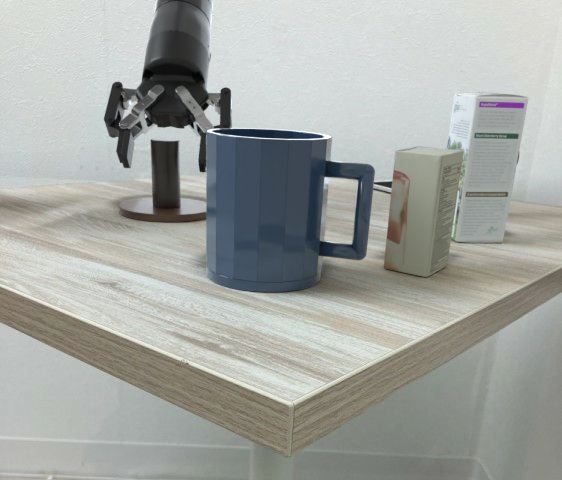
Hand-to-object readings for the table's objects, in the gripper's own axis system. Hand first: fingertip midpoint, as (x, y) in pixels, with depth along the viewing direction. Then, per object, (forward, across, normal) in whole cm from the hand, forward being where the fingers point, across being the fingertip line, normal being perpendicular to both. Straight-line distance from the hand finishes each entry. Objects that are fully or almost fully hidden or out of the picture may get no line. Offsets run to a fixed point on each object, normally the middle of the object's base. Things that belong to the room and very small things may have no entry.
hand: (164, 165), depth 72 cm
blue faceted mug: (+20, +14, -13) cm, 28 cm away
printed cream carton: (+17, +26, -9) cm, 32 cm away
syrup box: (+7, +34, +1) cm, 34 cm away
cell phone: (-14, +32, +22) cm, 42 cm away
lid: (+3, 0, +5) cm, 5 cm away
